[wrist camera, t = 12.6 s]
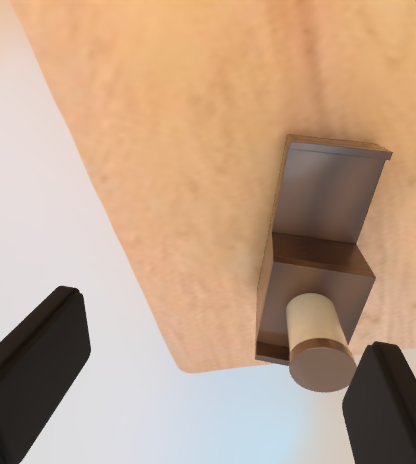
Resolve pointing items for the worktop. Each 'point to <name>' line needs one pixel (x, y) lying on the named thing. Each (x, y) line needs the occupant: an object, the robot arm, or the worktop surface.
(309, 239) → the step rack
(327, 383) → the spice jar
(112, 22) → the worktop surface
